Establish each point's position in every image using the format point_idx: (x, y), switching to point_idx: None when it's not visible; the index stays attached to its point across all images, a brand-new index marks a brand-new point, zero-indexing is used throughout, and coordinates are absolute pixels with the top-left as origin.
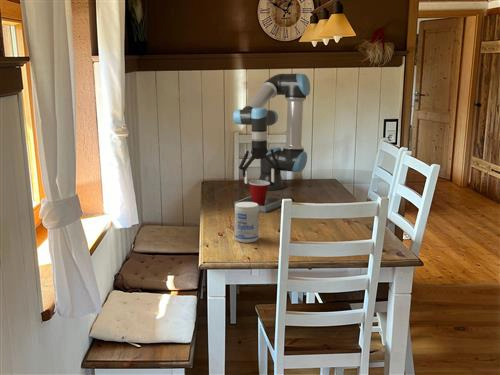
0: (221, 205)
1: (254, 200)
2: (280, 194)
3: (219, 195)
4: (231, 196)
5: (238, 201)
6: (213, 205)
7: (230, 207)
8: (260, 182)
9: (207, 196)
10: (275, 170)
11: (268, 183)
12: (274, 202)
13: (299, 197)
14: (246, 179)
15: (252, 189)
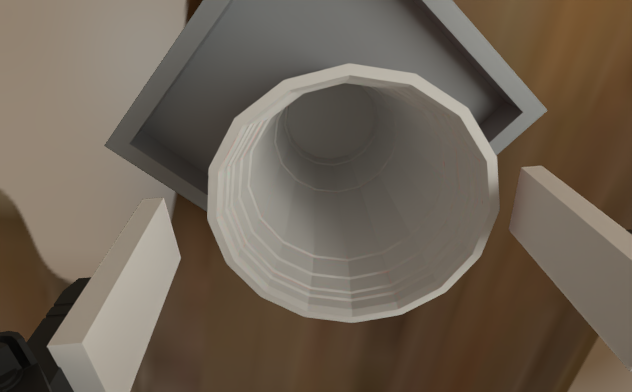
0: (577, 181)
1: (381, 92)
2: (148, 377)
3: (497, 382)
4: (441, 361)
5: (505, 127)
6: (627, 188)
7: (541, 119)
8: (310, 289)
9: (567, 370)
10: (37, 345)
11: (224, 214)
12: (195, 40)
13: (18, 311)
14: (566, 195)
15: (432, 124)
